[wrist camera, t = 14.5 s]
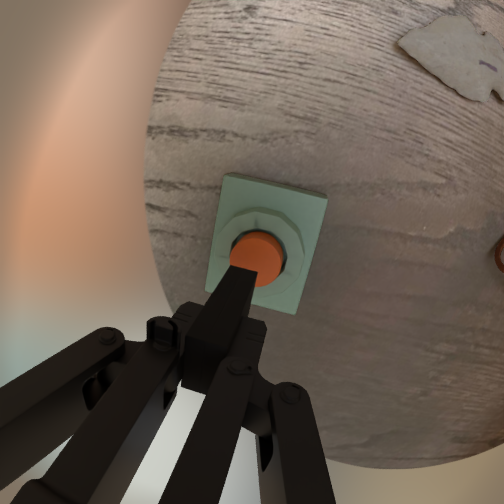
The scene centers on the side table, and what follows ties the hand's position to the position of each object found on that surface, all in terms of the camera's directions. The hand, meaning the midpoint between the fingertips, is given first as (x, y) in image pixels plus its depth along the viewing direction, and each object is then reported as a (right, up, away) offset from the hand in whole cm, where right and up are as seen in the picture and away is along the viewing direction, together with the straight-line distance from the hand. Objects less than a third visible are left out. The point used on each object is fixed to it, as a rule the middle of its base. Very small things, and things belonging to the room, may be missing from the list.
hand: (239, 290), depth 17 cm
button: (+1, +2, +6) cm, 7 cm away
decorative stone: (+18, +19, +1) cm, 26 cm away
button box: (+2, +3, +10) cm, 10 cm away
